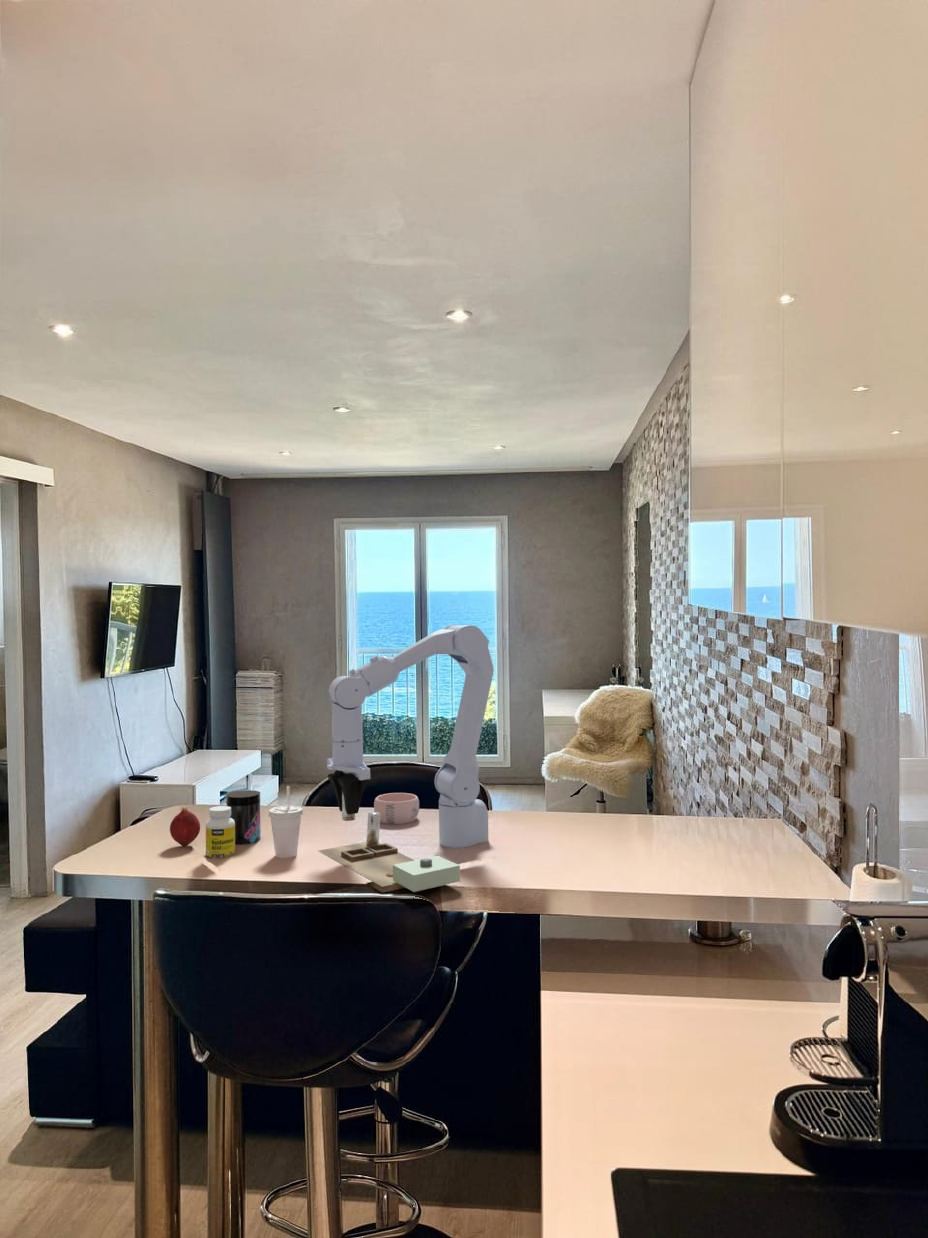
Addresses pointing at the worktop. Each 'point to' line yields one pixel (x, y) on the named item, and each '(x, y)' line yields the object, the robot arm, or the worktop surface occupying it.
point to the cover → (426, 873)
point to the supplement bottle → (220, 833)
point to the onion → (185, 827)
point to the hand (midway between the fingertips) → (348, 812)
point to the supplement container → (245, 815)
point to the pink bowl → (397, 808)
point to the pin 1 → (344, 814)
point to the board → (370, 862)
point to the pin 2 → (373, 828)
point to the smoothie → (286, 828)
